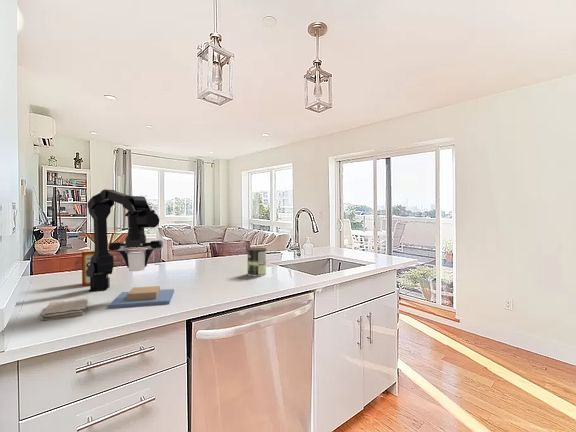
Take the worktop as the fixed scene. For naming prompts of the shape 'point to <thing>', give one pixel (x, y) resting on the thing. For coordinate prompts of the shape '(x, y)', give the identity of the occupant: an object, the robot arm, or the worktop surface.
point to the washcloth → (65, 309)
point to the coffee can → (256, 261)
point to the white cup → (136, 261)
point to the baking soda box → (86, 266)
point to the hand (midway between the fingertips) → (137, 267)
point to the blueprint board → (133, 303)
